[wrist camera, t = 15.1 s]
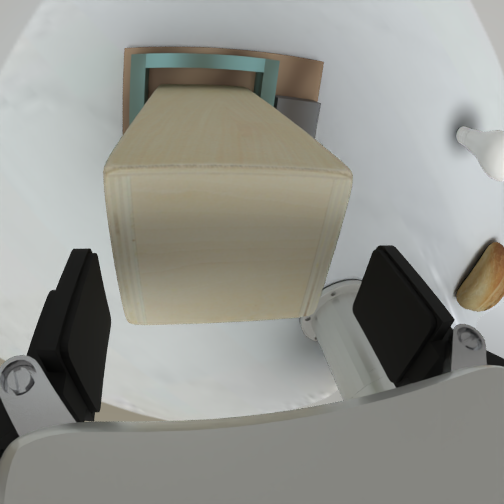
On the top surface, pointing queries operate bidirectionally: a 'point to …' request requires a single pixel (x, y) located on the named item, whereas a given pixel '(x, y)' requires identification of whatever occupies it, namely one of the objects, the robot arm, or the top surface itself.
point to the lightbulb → (485, 149)
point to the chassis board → (225, 78)
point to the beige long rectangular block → (221, 209)
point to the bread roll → (484, 281)
